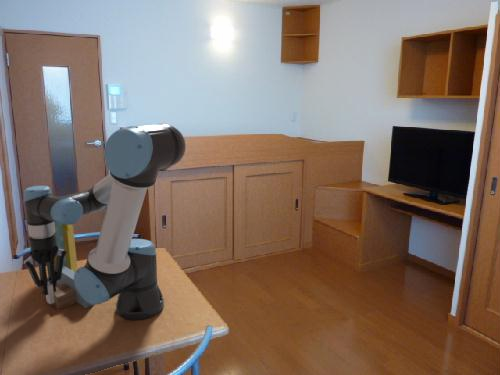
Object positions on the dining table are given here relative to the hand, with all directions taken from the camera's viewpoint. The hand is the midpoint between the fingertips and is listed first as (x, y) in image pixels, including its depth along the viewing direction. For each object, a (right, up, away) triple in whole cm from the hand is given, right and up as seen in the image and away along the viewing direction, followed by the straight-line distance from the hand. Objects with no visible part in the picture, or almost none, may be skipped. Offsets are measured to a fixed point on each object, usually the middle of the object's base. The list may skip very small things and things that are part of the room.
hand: (50, 302), depth 133 cm
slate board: (+5, 0, +6) cm, 8 cm away
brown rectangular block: (+2, -1, +3) cm, 4 cm away
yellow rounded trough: (-5, +4, +23) cm, 24 cm away
